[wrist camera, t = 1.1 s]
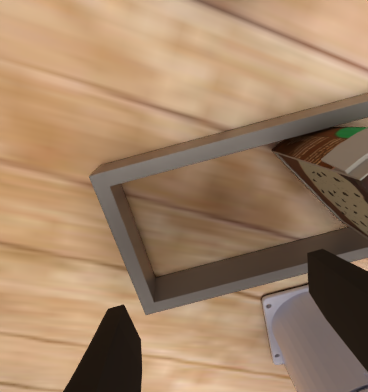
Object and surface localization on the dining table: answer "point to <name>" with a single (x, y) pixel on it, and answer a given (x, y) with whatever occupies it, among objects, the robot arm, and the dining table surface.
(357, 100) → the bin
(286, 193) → the dining table surface
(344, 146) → the food container
